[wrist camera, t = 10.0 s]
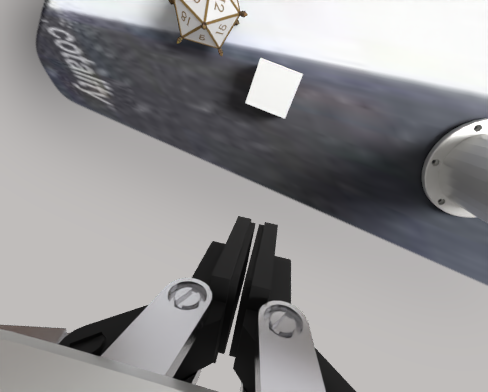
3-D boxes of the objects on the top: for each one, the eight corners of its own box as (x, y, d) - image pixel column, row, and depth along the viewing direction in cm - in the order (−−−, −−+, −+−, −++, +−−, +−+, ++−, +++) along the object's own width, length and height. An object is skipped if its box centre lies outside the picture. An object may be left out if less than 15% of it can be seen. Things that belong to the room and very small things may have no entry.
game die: (209, 30, 36) (137, -1, 29) (244, -36, 30) (165, -94, 23) (234, 77, 33) (162, 57, 26) (278, 15, 28) (200, -32, 21)
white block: (301, 77, 33) (303, 74, 28) (285, 116, 34) (284, 118, 30) (264, 63, 33) (260, 57, 28) (251, 102, 35) (245, 103, 30)
